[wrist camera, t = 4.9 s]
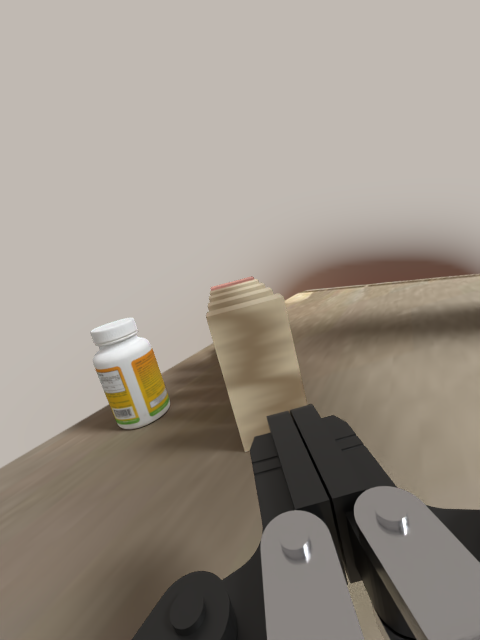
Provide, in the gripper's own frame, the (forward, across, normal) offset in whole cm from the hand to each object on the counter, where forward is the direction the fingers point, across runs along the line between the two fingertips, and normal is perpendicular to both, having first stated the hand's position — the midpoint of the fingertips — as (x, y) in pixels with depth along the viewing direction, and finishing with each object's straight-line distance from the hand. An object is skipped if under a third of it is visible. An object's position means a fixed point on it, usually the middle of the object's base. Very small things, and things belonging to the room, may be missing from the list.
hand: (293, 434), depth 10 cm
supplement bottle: (+20, +12, +8) cm, 24 cm away
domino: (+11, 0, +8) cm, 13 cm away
